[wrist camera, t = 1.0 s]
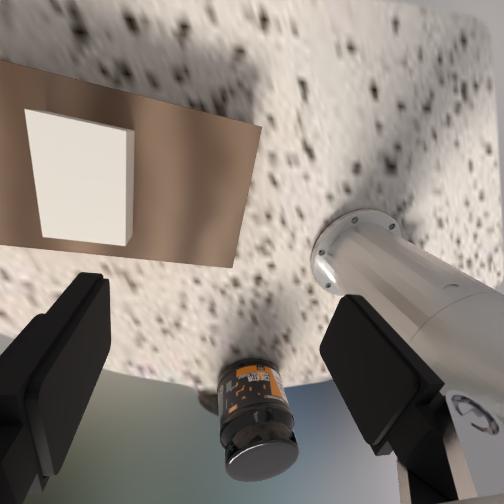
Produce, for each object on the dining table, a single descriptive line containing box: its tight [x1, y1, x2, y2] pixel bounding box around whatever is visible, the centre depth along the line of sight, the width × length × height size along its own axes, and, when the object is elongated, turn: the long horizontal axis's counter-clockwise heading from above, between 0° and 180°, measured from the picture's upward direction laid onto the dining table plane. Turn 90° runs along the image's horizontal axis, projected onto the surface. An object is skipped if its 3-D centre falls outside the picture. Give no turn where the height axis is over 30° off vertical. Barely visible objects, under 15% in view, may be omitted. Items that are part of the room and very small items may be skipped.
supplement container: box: [217, 359, 299, 482], centre depth 36 cm, size 10×10×12 cm
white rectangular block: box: [24, 109, 135, 246], centre depth 20 cm, size 6×9×2 cm, turn 167°
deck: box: [0, 60, 262, 268], centre depth 23 cm, size 22×14×4 cm, turn 77°
